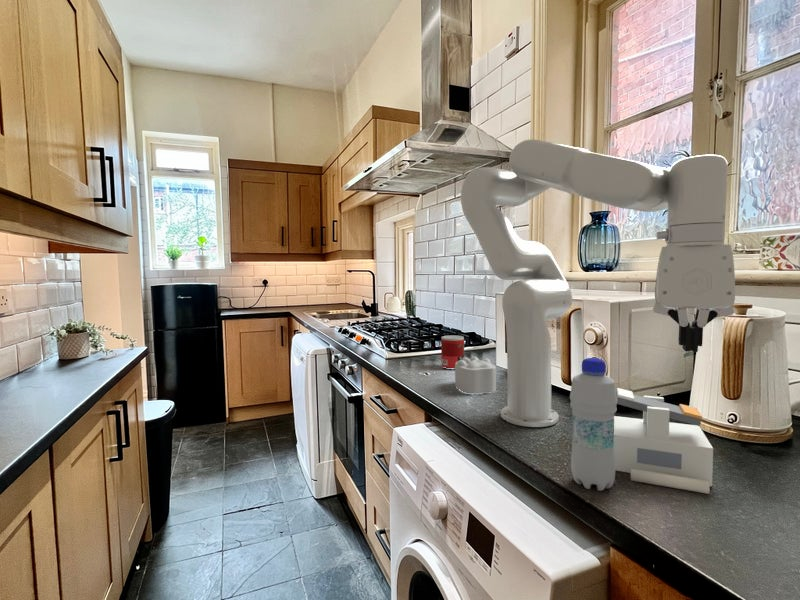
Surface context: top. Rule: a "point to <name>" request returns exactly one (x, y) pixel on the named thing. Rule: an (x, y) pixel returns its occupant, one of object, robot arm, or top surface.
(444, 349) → the canned food
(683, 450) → the box
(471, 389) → the lumpy-topped squat cylinder
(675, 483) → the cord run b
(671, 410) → the lever
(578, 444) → the bottle
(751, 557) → the top surface
